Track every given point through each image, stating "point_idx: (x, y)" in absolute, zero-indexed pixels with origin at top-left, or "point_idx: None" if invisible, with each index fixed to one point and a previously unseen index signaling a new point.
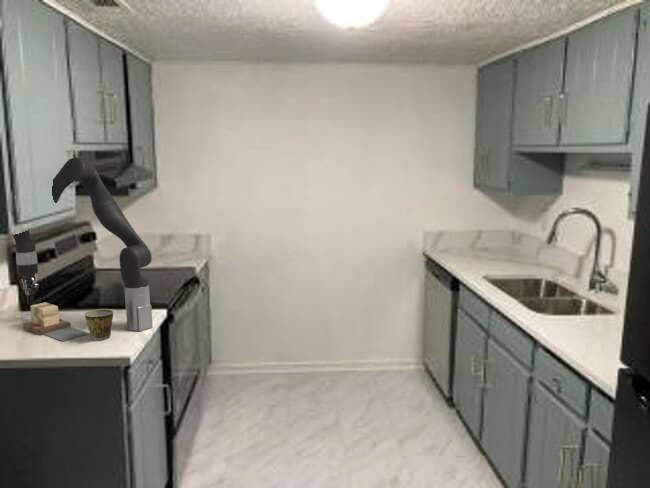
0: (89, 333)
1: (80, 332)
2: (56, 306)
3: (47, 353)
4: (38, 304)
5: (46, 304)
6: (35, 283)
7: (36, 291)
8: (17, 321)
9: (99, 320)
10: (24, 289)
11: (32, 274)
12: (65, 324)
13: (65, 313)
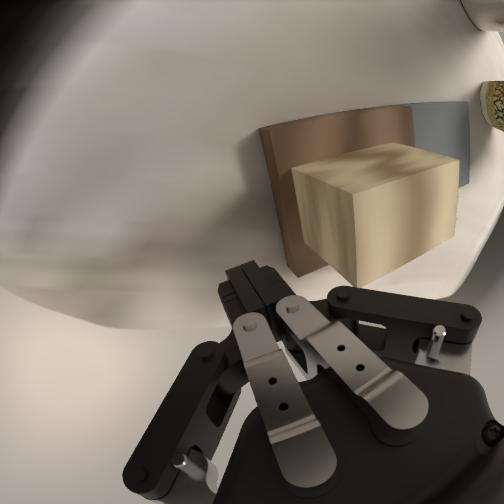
0: (467, 103)
1: (454, 115)
2: (458, 166)
3: (482, 226)
4: (370, 243)
5: (403, 200)
6: (470, 346)
7: (374, 295)
8: (141, 287)
9: None
10: (232, 400)
11: (498, 441)
12: (411, 128)
13: (132, 39)
